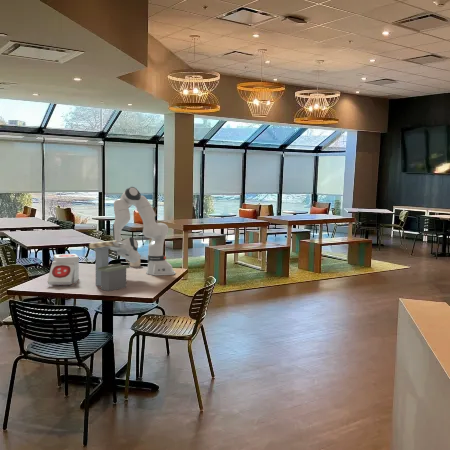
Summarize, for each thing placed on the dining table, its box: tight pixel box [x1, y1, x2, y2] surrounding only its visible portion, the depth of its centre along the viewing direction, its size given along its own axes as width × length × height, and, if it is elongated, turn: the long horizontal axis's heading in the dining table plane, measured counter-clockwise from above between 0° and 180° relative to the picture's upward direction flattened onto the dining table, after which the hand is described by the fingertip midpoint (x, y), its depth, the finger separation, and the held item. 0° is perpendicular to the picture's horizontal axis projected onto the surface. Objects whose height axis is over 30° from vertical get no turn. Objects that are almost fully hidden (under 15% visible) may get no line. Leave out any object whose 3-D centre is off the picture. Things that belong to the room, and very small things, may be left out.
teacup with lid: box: [125, 257, 141, 268], centre depth 417 cm, size 12×9×12 cm
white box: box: [47, 253, 80, 286], centre depth 347 cm, size 19×30×18 cm, turn 5°
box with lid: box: [98, 263, 131, 292], centre depth 334 cm, size 20×9×15 cm, turn 146°
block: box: [88, 239, 117, 249], centre depth 341 cm, size 22×3×3 cm, turn 147°
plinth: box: [92, 247, 111, 287], centre depth 342 cm, size 8×8×26 cm
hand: (110, 242), depth 347 cm, fingers closed on block, 3 cm apart
